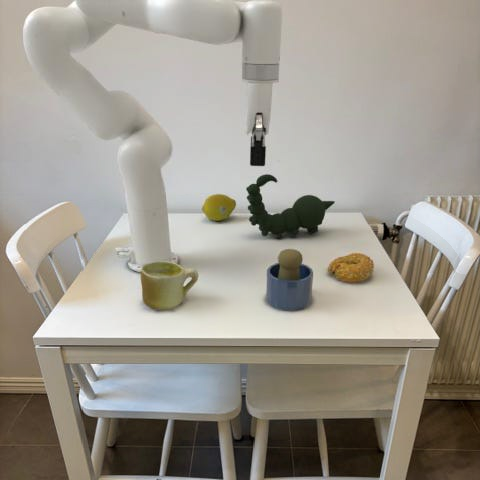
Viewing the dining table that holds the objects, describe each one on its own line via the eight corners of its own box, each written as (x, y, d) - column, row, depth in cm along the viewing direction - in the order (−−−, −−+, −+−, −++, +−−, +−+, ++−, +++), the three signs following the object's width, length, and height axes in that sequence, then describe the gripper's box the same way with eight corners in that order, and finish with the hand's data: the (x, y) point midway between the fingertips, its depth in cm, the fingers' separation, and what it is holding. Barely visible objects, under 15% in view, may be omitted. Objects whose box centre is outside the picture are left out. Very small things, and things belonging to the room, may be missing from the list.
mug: (132, 308, 100) (138, 261, 98) (140, 299, 110) (147, 256, 108) (190, 318, 101) (198, 272, 99) (193, 308, 111) (200, 266, 109)
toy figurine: (255, 249, 135) (340, 235, 138) (249, 182, 125) (341, 168, 128) (248, 236, 143) (329, 223, 146) (242, 173, 133) (329, 160, 136)
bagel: (334, 263, 123) (336, 245, 121) (377, 271, 119) (380, 253, 116) (321, 278, 116) (322, 260, 113) (366, 288, 111) (369, 269, 109)
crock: (267, 311, 103) (268, 281, 99) (265, 289, 111) (266, 261, 108) (313, 310, 103) (316, 281, 99) (307, 289, 111) (309, 261, 108)
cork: (300, 305, 104) (303, 258, 98) (272, 302, 105) (274, 256, 99) (303, 292, 109) (306, 246, 103) (276, 289, 110) (278, 244, 104)
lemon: (203, 225, 147) (202, 199, 143) (201, 216, 154) (199, 191, 150) (238, 223, 149) (238, 197, 145) (234, 214, 155) (234, 190, 151)
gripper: (242, 69, 105) (241, 151, 114) (240, 77, 90) (239, 170, 99) (277, 70, 105) (273, 151, 114) (280, 78, 90) (275, 170, 99)
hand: (257, 160), depth 106 cm, fingers open, 9 cm apart
